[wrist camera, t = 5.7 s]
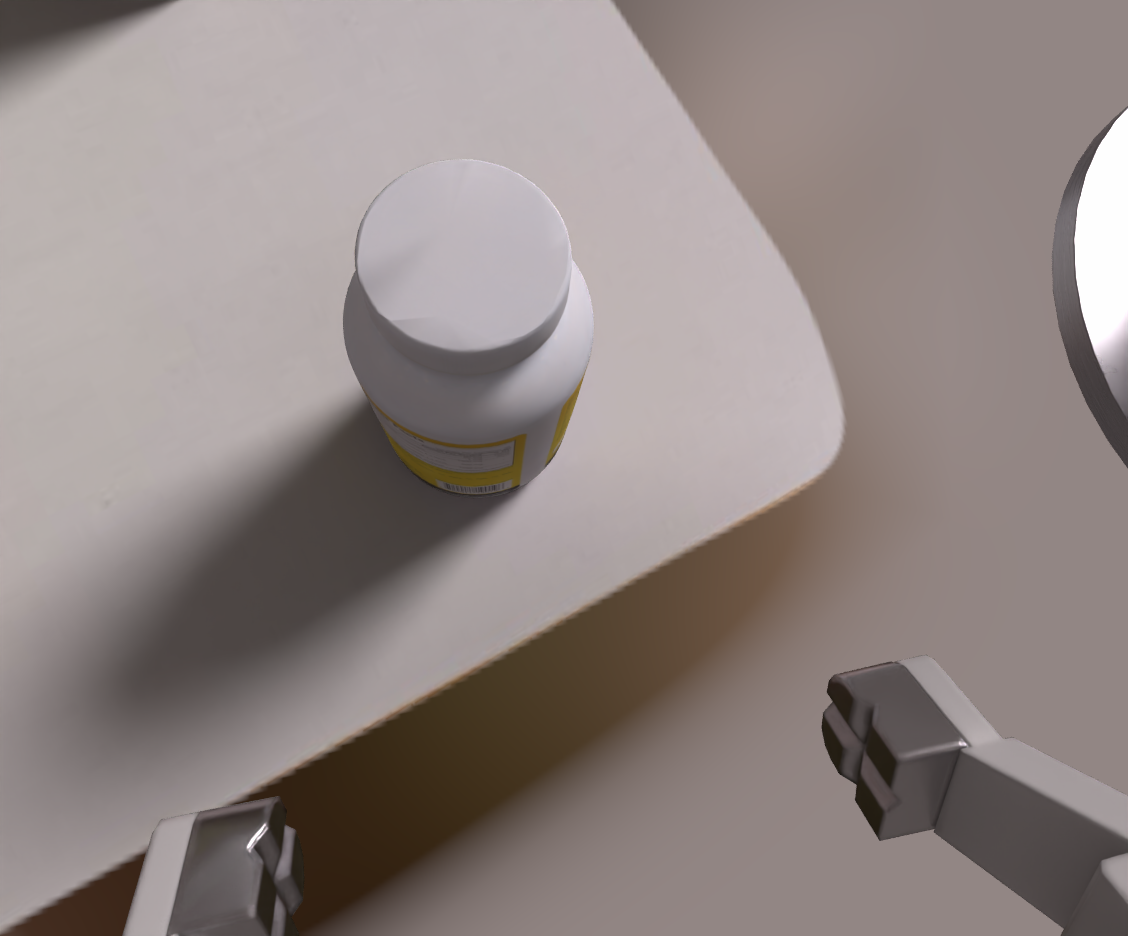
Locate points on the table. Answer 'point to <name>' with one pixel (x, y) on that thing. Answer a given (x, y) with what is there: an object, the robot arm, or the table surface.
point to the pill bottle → (468, 325)
